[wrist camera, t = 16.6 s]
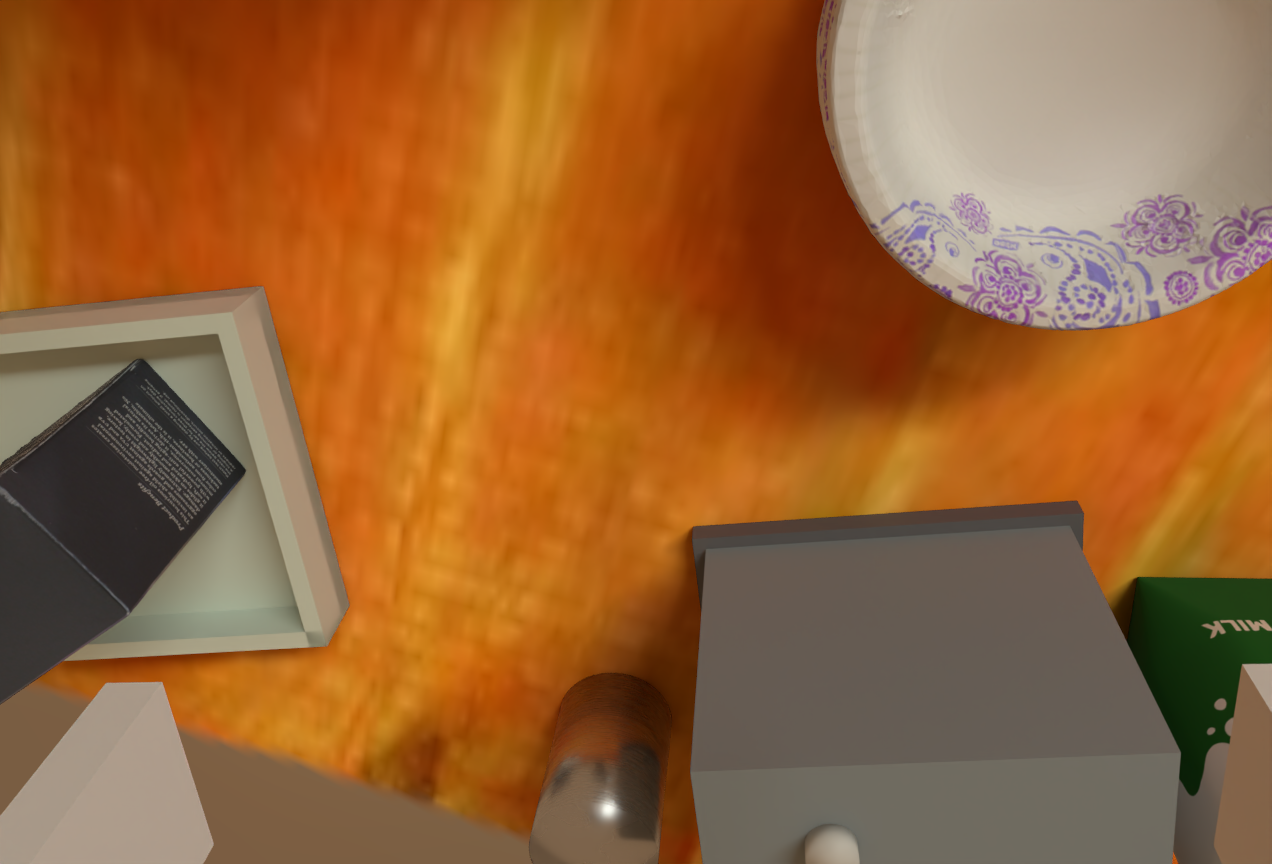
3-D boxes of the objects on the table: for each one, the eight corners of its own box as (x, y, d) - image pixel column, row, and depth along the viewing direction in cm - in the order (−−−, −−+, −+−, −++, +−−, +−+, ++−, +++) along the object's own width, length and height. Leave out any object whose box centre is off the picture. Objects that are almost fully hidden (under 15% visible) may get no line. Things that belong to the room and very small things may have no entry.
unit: (693, 526, 48) (669, 777, 34) (1077, 500, 46) (1210, 756, 32) (719, 741, 52) (708, 1037, 39) (1070, 727, 50) (1185, 1033, 37)
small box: (86, 597, 51) (-66, 761, 41) (-29, 486, 49) (-216, 632, 39) (257, 475, 47) (134, 623, 38) (141, 350, 46) (-19, 474, 36)
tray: (-126, 325, 47) (-179, 352, 45) (263, 286, 45) (231, 311, 42) (0, 626, 53) (-40, 666, 50) (349, 605, 51) (326, 646, 48)
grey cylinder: (551, 675, 52) (518, 805, 44) (664, 669, 51) (650, 800, 44) (568, 765, 54) (540, 902, 46) (677, 761, 53) (665, 899, 46)
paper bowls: (1262, -308, 34) (1397, -357, 27) (1312, 188, 40) (1433, 255, 33) (757, -126, 38) (758, -127, 30) (870, 309, 43) (894, 394, 36)
